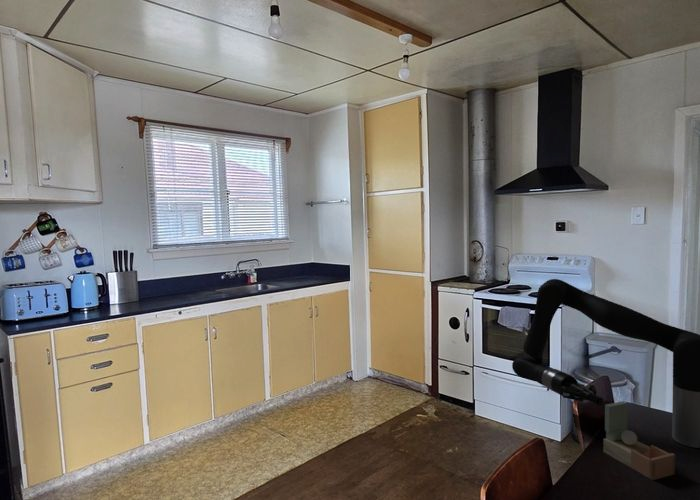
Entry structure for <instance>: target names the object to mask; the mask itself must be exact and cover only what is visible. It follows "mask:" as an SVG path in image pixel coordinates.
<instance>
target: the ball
mask: <svg viewBox="0 0 700 500" xmlns="http://www.w3.org/2000/svg"><path fill="white" fill-rule="evenodd" d="M621 439H622V441H623V442H624V443H625V444H627V445H634V444H636V442H637V441H638V436H637V434H636V433H635V432H634V431H632V430H629V429H627V430H625V431H623V432H622V434H621Z"/></svg>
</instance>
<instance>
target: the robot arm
mask: <svg viewBox="0 0 700 500" xmlns="http://www.w3.org/2000/svg"><path fill="white" fill-rule="evenodd" d="M536 295H537V297H536V302H535V307H534V308H535V309H534V314H533V317H532V321H531V324H530V326H529V329H528V331H527V335H526V338H525V341H524V342H523V343H524V344H523V347H522V348H523V352H524V353H525V354H526V355H528V356H527V357H525V356H524V357H517V358H515V359H514V360H513V362H512V364H511V367H512V371H513V372H514V374H515V375H516V376H518V377H520V378H522V379H525V380H528V381H532V382H536V383H538V384H540V385H541V386H543V387H545V388H546V389H548V390H550V391H551V392H554V393H556V394H558V395H559V396H562V398H564V399H569V400H573V401H577V402H584V401H585V402H591V403H593V404H594V405H597V406H603V404H604V399H603V397H602V396H599V395H597V393H598V392H597V389H596V387H595V385H593V384H590V385H589V386H586V385H585V384H583V383H580V382H579V381H578V380H577V379H576V377H575V376H573V375H571V374H569V373H566V372H564V371H562V370H559V369H556V368H554V367H550V366H548V365H546V364H543V360H544V356H543V354H544V350H545V348H546V345H547V342H548V339H549V335H550V330H551V329H550V328H551V324H552V321H553V319H554V317H555V314H556V313H557V311H558V309H559V307H560V306H561V305H563V306H565V307H569V308H571V309H574V310H576V311H579V312H580V313H581V314H583V315H585V316H586V317H588V319H590V320H591V321H593V322H594V323H595V324H597V325H598V326H600V327H602V328H603V329H606V330H608V331H610V332H613V333H615V334H617V335H621V336H624V337H627V338H631V339H636V340H639V341H640V340H641V341H645V342H648V343H652V344H655V345H656V346H660V347H661V348H663V349H666V350H667V351H669V352H672V410H671V411H672V412H671V413H672V414H671V419H672V420H671V438H672V439H673V440H674V441H676V442H677V443H678V444H682V445H683V446H687V447H691V448H696V449H700V334H698V333H695V332H694V331H693V332H692V331H690V330H686V329H683V328H679V327H675V326H674V325H673V326H672V325H670V324H666V323H663V322H661V321H659V320H657V319H654V318H652V317H649V316H648V315H646V314H643V313H641V312H639V311H636V310H634V309H632V308H629V307H627V306H624V305H622V304H619V303H616V302H614V301H611V300H608V299H605V298H603V297H600V296H598V295H594V294H592V293H588V292H587V291H584V290H582V289H580V288H577V287H575V286H574V285H571V284H570V283H568V282H566V281H564V280H563V279H562V280H561V279H560V278H559V279H558V278H551V279H548V280H547V281H545V282H544V283H542V284H541V285H540V286H539V287H538V290H537V294H536Z"/></svg>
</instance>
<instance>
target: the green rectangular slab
mask: <svg viewBox="0 0 700 500" xmlns="http://www.w3.org/2000/svg"><path fill="white" fill-rule="evenodd" d="M628 404H629V403H628V402H626V401H623V400H622V401H619V402H618V401H617V402H612V403H606V404H604V431H605V438H609V439H610V440H612V441H616V440H621V434H622V432H623V431H625V430H629V428H628V425H629V424H628V413H629V412H628V411H629V410H628V409H629V408H628V407H629V405H628Z"/></svg>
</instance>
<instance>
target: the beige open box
mask: <svg viewBox="0 0 700 500" xmlns="http://www.w3.org/2000/svg"><path fill="white" fill-rule="evenodd" d="M602 442H603V447H602V448H603V449H602V450H603V451H602V452H603V453H605V454H607V455H608V456H610V457H611V458H613V459H615V460H617V461H619V462H620V463H622V464H624V465H626V466H627V467H629V468H631V450H635V451H636V452H638V453H640V454H642V455H644V456H646V457H648V458H649V459H650V452H651V446H649V445H646V444H644V443H643V442H640V441H638V440H637V442H636V444H634V445H627V444H625V443H624V442H623V441H622V439H621V440H616V441H612V440H610V439H609V438H607V437H605V438H603V441H602Z"/></svg>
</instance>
